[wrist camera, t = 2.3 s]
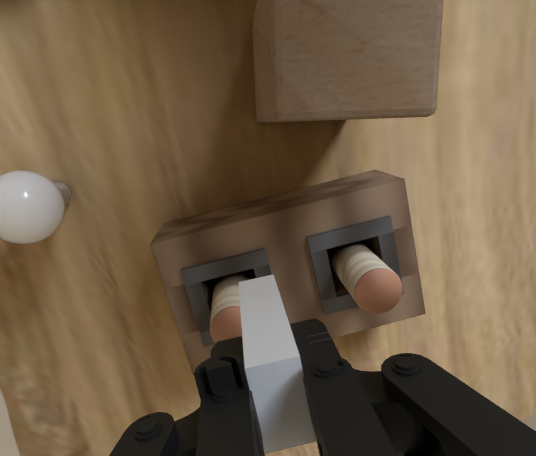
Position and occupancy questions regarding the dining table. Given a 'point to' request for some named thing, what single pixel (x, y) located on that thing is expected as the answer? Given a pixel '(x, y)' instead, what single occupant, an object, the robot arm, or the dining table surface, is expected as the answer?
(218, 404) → the robot arm
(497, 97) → the dining table surface
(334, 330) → the socket block
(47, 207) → the lightbulb
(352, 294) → the peg
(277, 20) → the wooden block
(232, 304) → the peg
